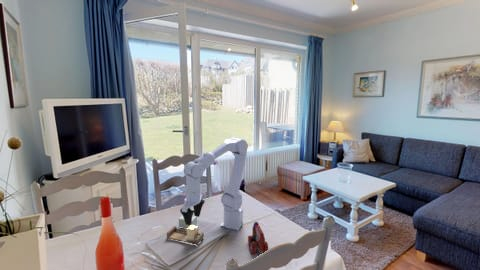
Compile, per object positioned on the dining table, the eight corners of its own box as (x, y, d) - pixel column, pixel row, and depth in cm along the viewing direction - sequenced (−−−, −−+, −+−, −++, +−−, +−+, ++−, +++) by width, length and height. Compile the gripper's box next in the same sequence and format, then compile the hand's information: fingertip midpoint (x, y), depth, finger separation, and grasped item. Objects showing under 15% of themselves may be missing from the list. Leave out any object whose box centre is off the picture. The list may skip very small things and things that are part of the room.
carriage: (199, 237, 101) (199, 226, 101) (195, 242, 98) (195, 230, 97) (189, 235, 103) (190, 224, 102) (185, 240, 99) (185, 228, 99)
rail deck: (203, 238, 103) (203, 232, 103) (197, 246, 98) (197, 240, 97) (174, 231, 108) (174, 225, 107) (166, 239, 102) (166, 232, 101)
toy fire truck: (261, 238, 106) (262, 217, 104) (269, 256, 94) (270, 233, 92) (246, 239, 104) (247, 218, 103) (252, 258, 92) (254, 234, 91)
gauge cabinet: (196, 225, 114) (196, 216, 113) (191, 231, 109) (191, 221, 108) (184, 222, 116) (184, 213, 115) (178, 228, 111) (178, 218, 110)
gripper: (193, 183, 105) (192, 211, 107) (175, 195, 91) (175, 226, 93) (207, 185, 103) (206, 213, 105) (191, 198, 89) (190, 230, 91)
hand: (192, 220), depth 99 cm, fingers open, 7 cm apart
